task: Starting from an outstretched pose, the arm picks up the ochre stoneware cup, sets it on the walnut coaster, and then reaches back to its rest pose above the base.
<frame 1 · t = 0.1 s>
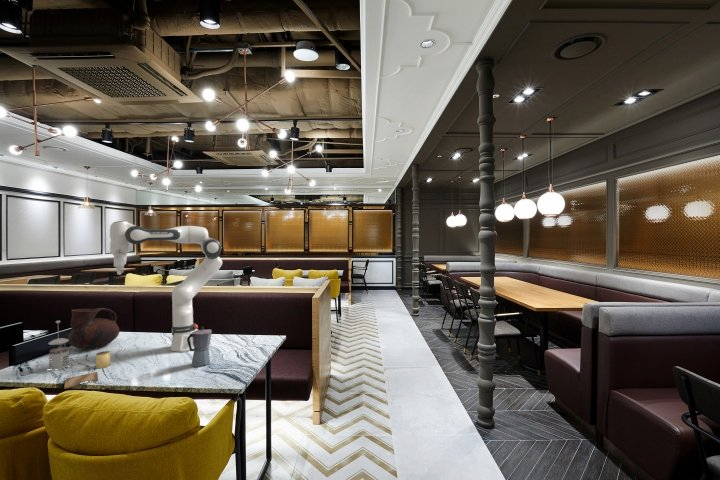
hand: (120, 273, 185), 48 cm above the table, fingers open, 8 cm apart
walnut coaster: (81, 380, 157), on the table
french press: (59, 367, 174), on the table
ochre cup: (103, 366, 173), on the table
moka pot: (200, 364, 175), on the table
jug: (94, 347, 205), on the table
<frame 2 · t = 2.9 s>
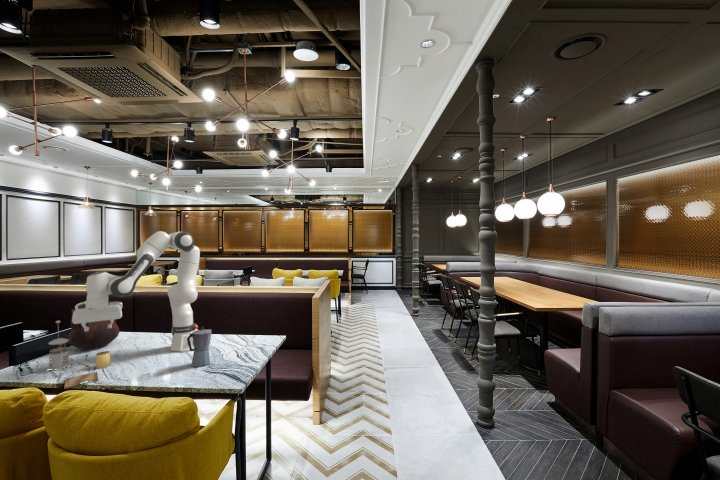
hand: (98, 329, 169), 21 cm above the table, fingers open, 8 cm apart
nothing on the table moved.
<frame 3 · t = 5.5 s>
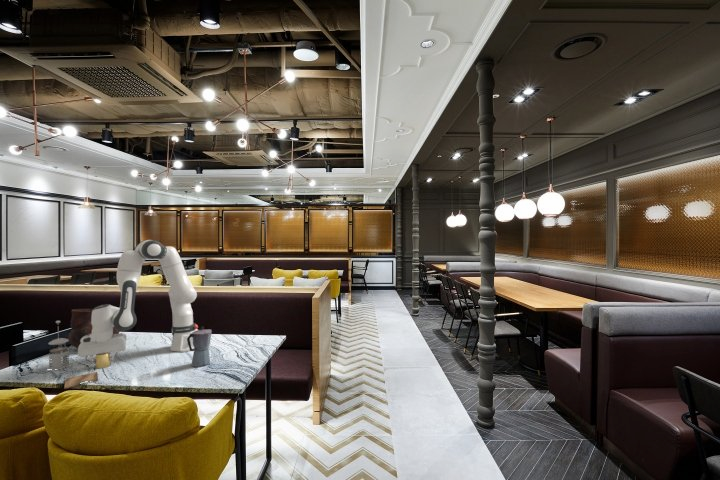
hand: (103, 361, 173), 3 cm above the table, fingers closed on ochre cup, 6 cm apart
ochre cup: (103, 366, 173), on the table, touching gripper
everything else where it was.
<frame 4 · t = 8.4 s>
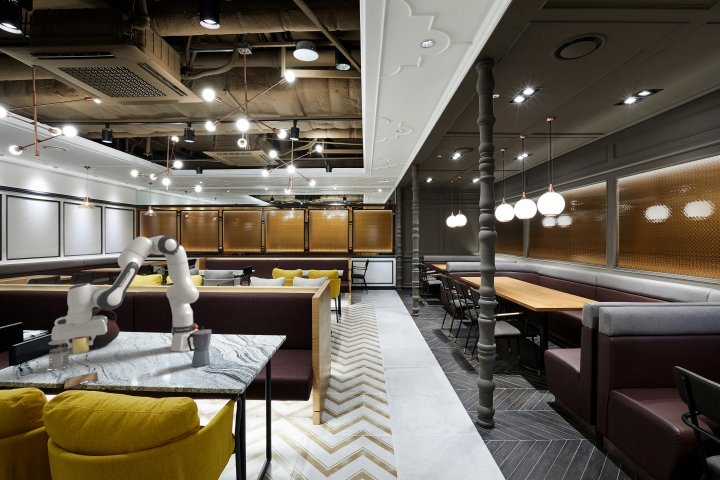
hand: (80, 346, 156), 17 cm above the table, fingers closed on ochre cup, 6 cm apart
ochre cup: (80, 351, 156), point 14 cm above the table, touching gripper
everything else where it was.
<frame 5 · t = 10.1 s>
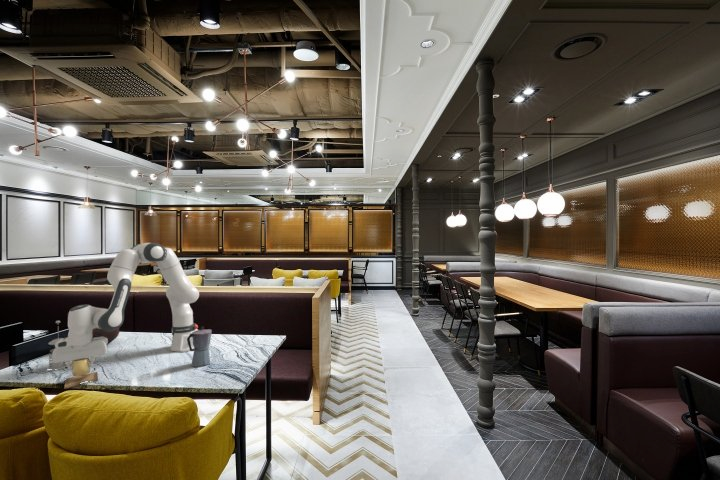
hand: (81, 367, 156), 6 cm above the table, fingers closed on ochre cup, 6 cm apart
ochre cup: (81, 373, 156), point 3 cm above the table, touching gripper
everything else where it was.
when the fingers open (5 cm above the table, at t = 11.3 s): ochre cup drops 2 cm, resting on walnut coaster.
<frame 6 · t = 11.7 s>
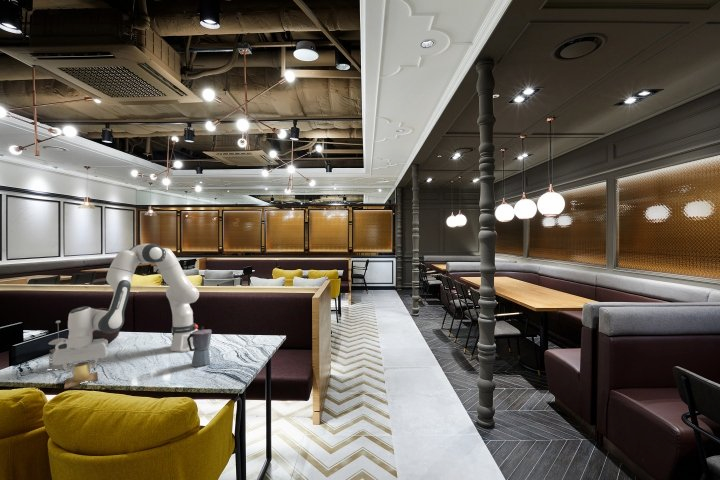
hand: (81, 369, 156), 5 cm above the table, fingers open, 8 cm apart
ochre cup: (81, 378, 157), point 1 cm above the table, touching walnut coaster
everything else where it was.
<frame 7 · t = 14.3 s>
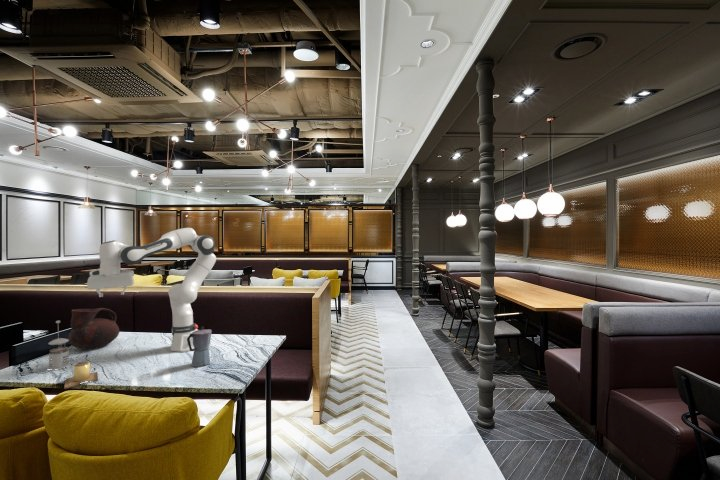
hand: (112, 295, 178), 37 cm above the table, fingers open, 8 cm apart
nothing on the table moved.
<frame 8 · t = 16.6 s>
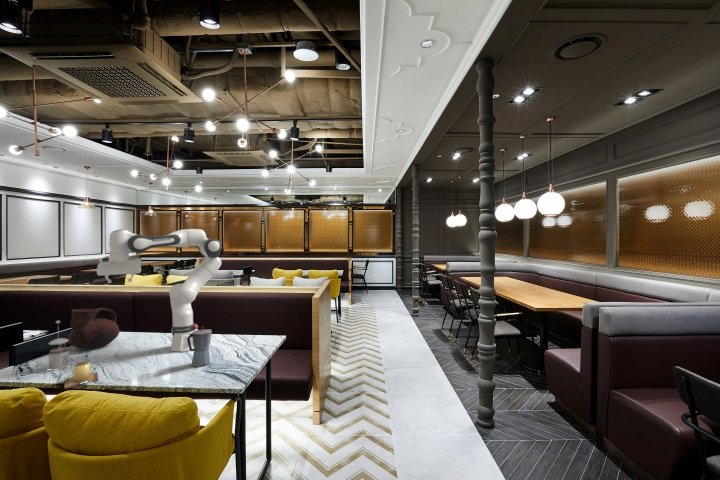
hand: (119, 282, 185), 43 cm above the table, fingers open, 8 cm apart
nothing on the table moved.
at the end: ochre cup inside the target area on the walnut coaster (0.1 cm from its centre), point 0.8 cm above the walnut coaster's base; ochre cup tilted 2°; the gripper is holding nothing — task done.
